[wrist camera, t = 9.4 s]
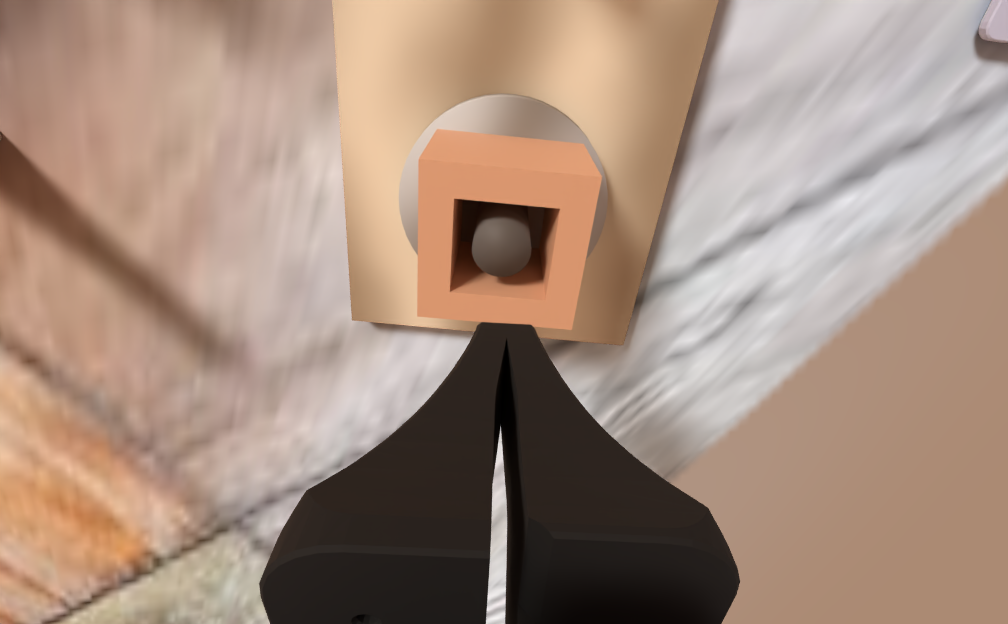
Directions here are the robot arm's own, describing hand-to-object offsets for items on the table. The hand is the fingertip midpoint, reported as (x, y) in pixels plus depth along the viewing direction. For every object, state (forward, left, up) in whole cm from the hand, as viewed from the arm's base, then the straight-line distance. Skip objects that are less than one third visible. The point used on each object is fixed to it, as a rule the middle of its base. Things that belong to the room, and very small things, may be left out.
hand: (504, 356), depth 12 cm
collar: (0, -1, -8) cm, 8 cm away
